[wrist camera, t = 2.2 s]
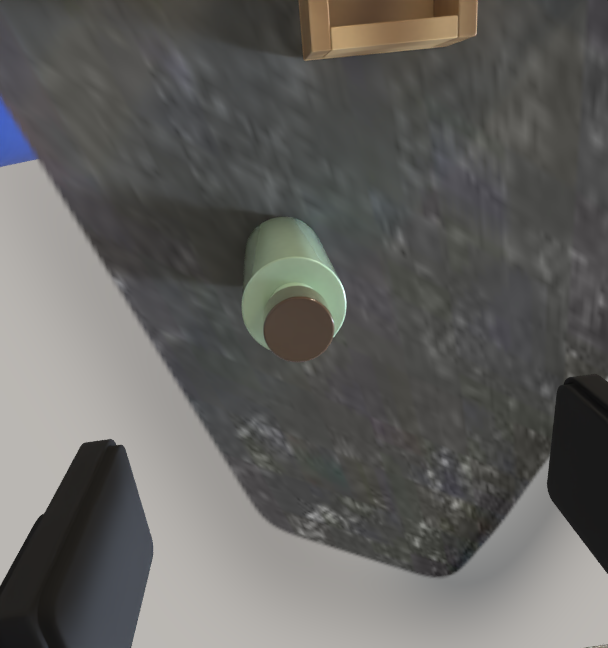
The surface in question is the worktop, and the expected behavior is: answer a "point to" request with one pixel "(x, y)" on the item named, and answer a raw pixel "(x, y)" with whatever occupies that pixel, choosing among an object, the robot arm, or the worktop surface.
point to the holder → (382, 26)
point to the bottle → (290, 290)
